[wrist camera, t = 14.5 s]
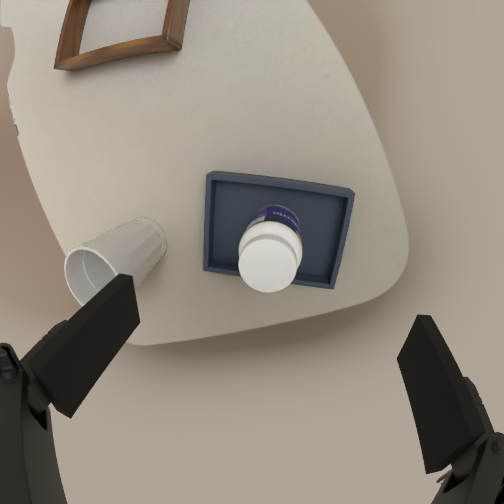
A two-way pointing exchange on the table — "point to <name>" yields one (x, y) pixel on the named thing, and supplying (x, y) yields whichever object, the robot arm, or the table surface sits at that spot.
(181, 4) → the wooden frame
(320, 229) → the tray
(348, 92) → the table surface
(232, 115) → the table surface
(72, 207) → the table surface
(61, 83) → the table surface
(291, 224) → the pill bottle
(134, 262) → the cup
